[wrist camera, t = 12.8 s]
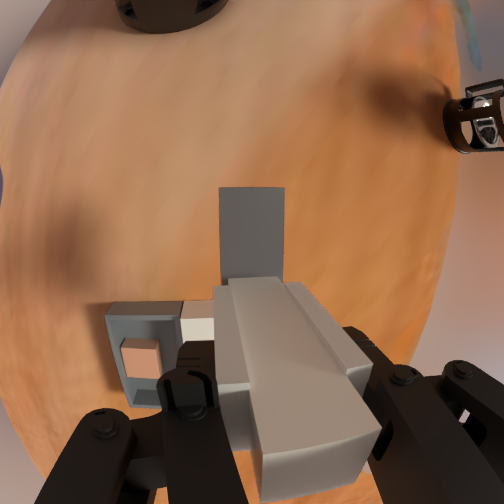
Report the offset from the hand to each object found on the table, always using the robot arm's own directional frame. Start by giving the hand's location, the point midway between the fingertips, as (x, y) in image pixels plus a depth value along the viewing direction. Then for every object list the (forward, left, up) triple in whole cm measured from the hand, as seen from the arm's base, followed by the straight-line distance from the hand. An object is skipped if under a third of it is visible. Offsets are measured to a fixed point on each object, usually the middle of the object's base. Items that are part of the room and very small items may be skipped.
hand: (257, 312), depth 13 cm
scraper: (0, 0, -5) cm, 5 cm away
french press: (-19, +37, -20) cm, 46 cm away
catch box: (+14, -10, -20) cm, 27 cm away
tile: (+14, -12, -17) cm, 25 cm away
